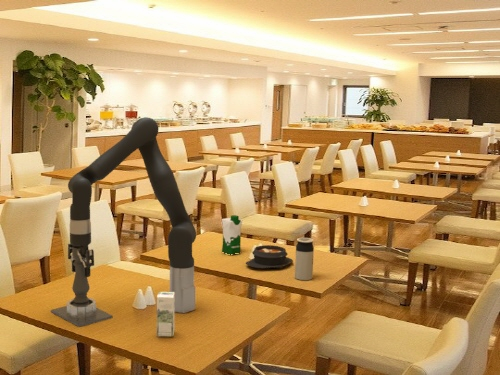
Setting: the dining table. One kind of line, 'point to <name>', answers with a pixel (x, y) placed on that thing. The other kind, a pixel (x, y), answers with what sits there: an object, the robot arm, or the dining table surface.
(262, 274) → the dining table surface
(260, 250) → the casserole
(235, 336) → the dining table surface
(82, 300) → the candle holder
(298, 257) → the travel mug
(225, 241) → the milk carton
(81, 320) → the steel collar
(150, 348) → the dining table surface
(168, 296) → the syrup box
